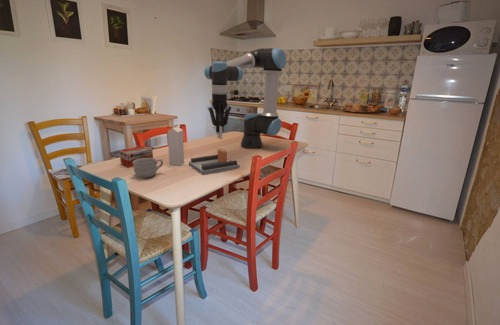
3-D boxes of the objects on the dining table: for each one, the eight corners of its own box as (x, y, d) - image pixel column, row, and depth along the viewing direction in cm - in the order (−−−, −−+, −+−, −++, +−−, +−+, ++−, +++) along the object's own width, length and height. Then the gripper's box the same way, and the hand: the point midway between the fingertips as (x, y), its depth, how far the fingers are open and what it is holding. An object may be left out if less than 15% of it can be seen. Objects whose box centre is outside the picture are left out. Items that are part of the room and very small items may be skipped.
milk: (169, 164, 156) (166, 125, 149) (174, 161, 161) (172, 123, 154) (179, 166, 154) (177, 126, 147) (184, 162, 160) (182, 124, 153)
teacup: (134, 180, 132) (133, 164, 129) (133, 173, 141) (132, 157, 139) (165, 177, 137) (164, 161, 135) (162, 170, 147) (161, 155, 144)
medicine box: (129, 168, 149) (127, 153, 146) (120, 164, 153) (119, 150, 151) (153, 161, 161) (152, 147, 158) (145, 158, 165) (143, 145, 163)
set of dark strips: (223, 157, 166) (223, 153, 166) (237, 164, 154) (237, 161, 153) (191, 161, 156) (191, 158, 155) (203, 170, 143) (203, 166, 142)
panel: (223, 159, 168) (223, 156, 168) (239, 168, 154) (239, 164, 154) (188, 165, 156) (188, 161, 156) (202, 175, 142) (202, 171, 142)
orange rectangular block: (221, 159, 161) (221, 148, 158) (226, 162, 156) (227, 150, 154) (217, 160, 159) (217, 148, 157) (222, 163, 154) (222, 151, 152)
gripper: (227, 92, 152) (227, 135, 159) (204, 93, 145) (205, 137, 152) (234, 93, 146) (233, 138, 153) (211, 94, 139) (211, 141, 146)
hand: (219, 138), depth 153 cm, fingers closed
